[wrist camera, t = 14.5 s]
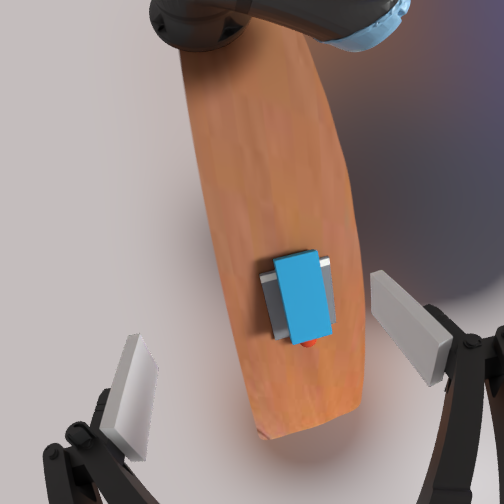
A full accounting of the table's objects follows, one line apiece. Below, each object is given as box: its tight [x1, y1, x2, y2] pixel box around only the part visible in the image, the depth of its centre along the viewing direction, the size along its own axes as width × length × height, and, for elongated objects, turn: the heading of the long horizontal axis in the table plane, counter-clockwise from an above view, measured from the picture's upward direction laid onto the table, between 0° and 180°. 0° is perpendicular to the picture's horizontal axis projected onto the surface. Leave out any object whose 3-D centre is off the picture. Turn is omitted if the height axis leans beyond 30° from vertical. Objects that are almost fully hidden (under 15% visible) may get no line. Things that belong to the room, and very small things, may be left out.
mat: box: [259, 256, 336, 340], centre depth 53 cm, size 14×12×1 cm
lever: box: [273, 249, 332, 347], centre depth 51 cm, size 7×7×18 cm
